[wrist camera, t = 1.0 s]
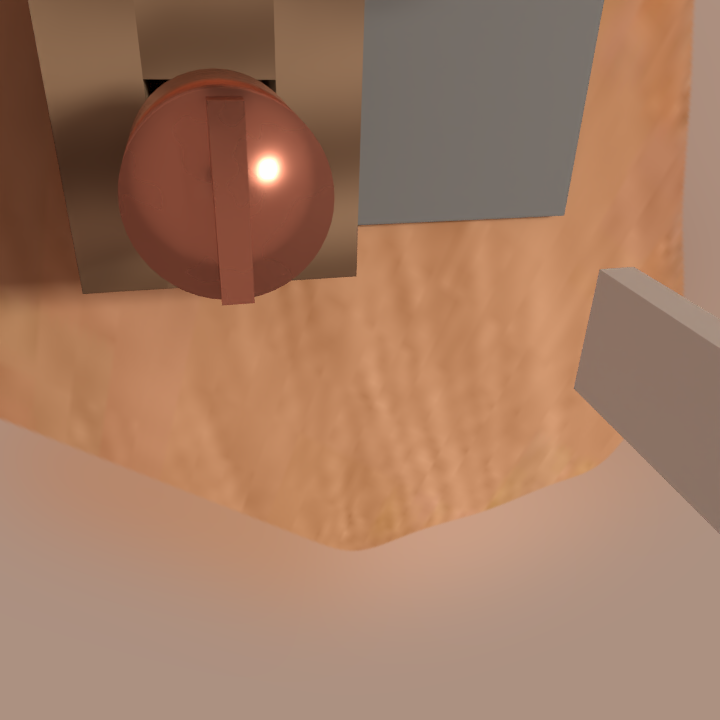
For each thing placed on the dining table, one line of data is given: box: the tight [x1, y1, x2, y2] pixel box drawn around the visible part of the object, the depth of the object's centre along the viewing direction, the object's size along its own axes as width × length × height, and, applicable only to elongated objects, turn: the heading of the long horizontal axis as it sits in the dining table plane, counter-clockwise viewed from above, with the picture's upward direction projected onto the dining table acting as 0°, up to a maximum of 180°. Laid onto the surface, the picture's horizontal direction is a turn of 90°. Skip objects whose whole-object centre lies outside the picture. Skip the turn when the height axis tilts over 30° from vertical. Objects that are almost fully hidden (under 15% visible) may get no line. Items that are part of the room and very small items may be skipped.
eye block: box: [28, 0, 365, 294], centre depth 29 cm, size 12×12×5 cm
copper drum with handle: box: [118, 68, 335, 305], centre depth 25 cm, size 6×6×14 cm
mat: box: [358, 0, 604, 225], centre depth 33 cm, size 12×12×1 cm
